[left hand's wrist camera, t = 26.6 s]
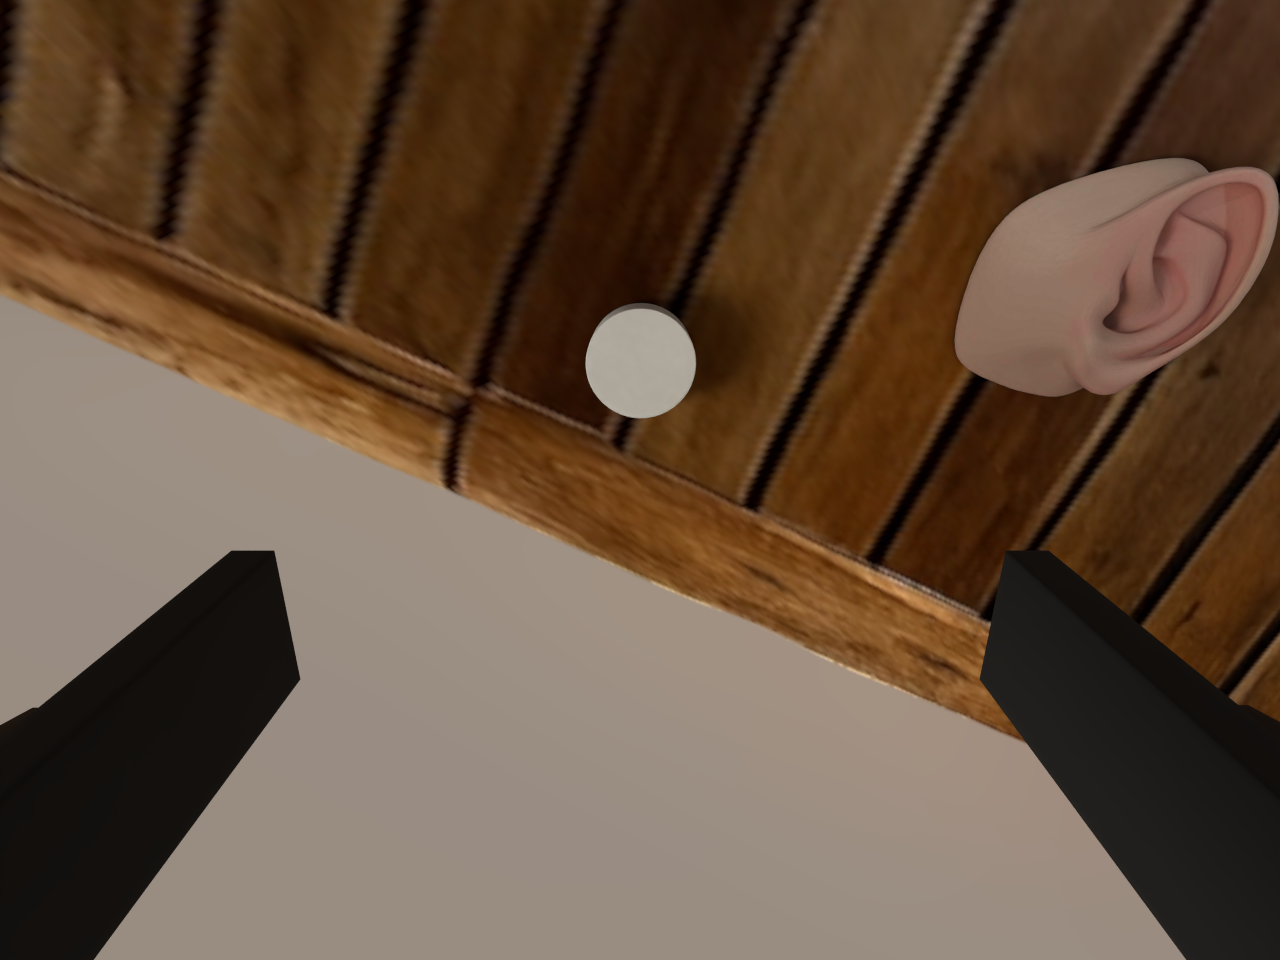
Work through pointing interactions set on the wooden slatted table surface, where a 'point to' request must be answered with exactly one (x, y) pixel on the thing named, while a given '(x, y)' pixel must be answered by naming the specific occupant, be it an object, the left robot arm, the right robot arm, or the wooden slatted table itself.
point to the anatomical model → (1114, 275)
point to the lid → (640, 360)
